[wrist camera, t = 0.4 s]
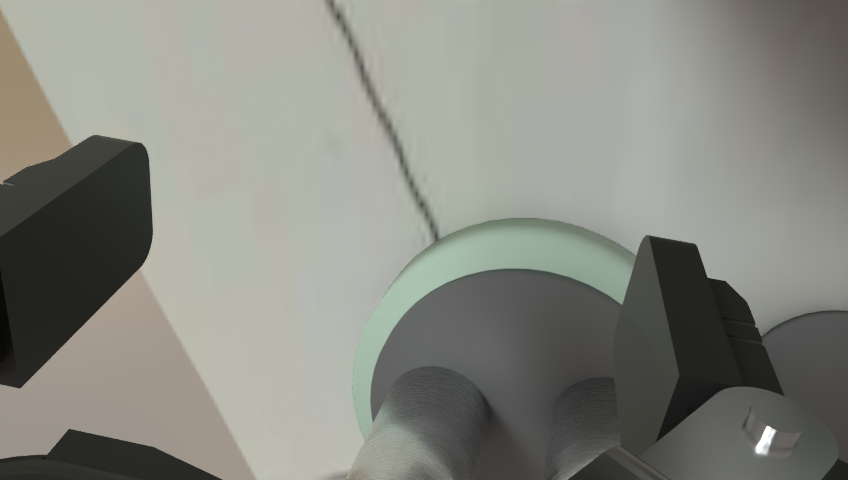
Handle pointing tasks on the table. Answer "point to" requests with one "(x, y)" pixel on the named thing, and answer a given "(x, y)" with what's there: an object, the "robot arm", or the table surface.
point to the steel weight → (581, 427)
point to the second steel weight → (426, 429)
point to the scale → (500, 327)
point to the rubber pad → (815, 367)
